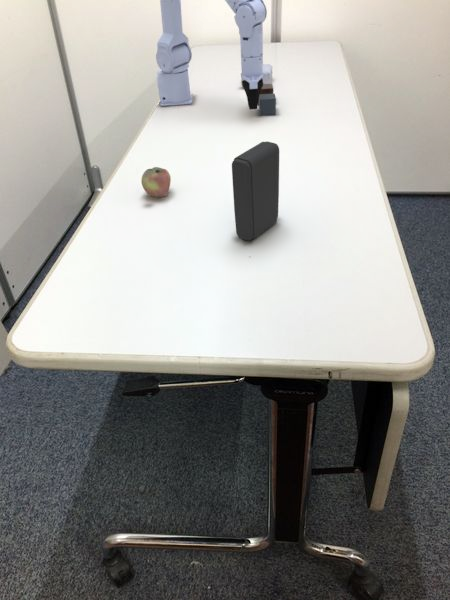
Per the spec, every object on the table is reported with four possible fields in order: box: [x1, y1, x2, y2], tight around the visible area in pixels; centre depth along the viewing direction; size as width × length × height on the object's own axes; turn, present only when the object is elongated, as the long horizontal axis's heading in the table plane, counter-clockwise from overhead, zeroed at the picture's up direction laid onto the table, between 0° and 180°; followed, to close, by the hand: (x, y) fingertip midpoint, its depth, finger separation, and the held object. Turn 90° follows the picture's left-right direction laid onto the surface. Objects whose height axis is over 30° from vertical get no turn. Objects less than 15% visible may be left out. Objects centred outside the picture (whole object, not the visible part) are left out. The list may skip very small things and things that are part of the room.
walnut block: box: [258, 83, 274, 106], centre depth 135 cm, size 4×4×4 cm
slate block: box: [258, 92, 277, 117], centre depth 128 cm, size 4×4×4 cm
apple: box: [140, 166, 172, 198], centre depth 95 cm, size 6×8×6 cm
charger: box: [240, 63, 273, 88], centre depth 151 cm, size 5×9×15 cm
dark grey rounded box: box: [231, 140, 280, 242], centre depth 80 cm, size 9×4×15 cm, turn 141°
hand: (253, 108), depth 129 cm, fingers closed, pressing on slate block
